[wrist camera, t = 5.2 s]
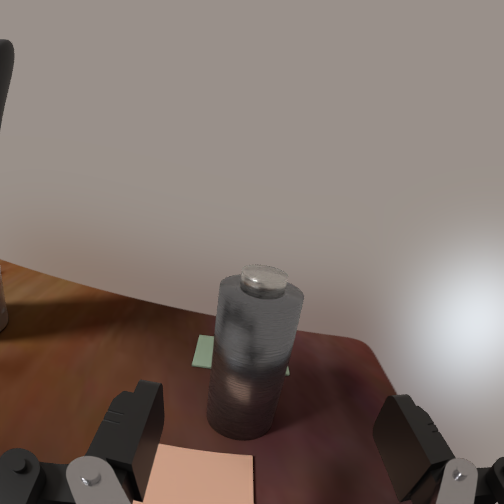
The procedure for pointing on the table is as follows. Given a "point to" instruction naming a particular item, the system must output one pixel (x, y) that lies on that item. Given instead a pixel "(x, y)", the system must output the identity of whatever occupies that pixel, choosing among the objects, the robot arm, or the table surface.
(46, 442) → the table surface
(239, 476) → the mat
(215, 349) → the bottle
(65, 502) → the robot arm
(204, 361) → the mat
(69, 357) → the table surface
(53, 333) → the table surface
